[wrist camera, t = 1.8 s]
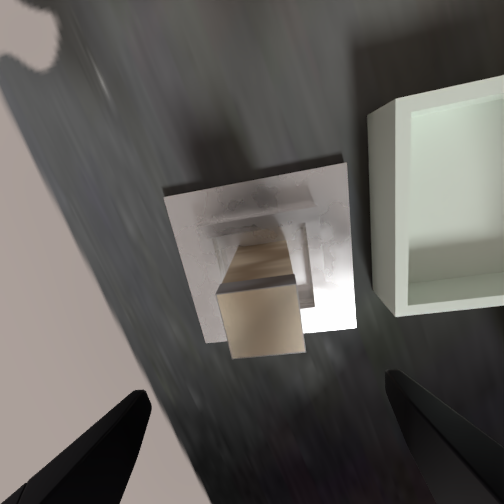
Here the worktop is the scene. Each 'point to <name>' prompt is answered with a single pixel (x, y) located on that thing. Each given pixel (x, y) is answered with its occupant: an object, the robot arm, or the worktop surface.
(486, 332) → the worktop surface
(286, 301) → the strut
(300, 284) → the socket collar
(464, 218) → the bin
